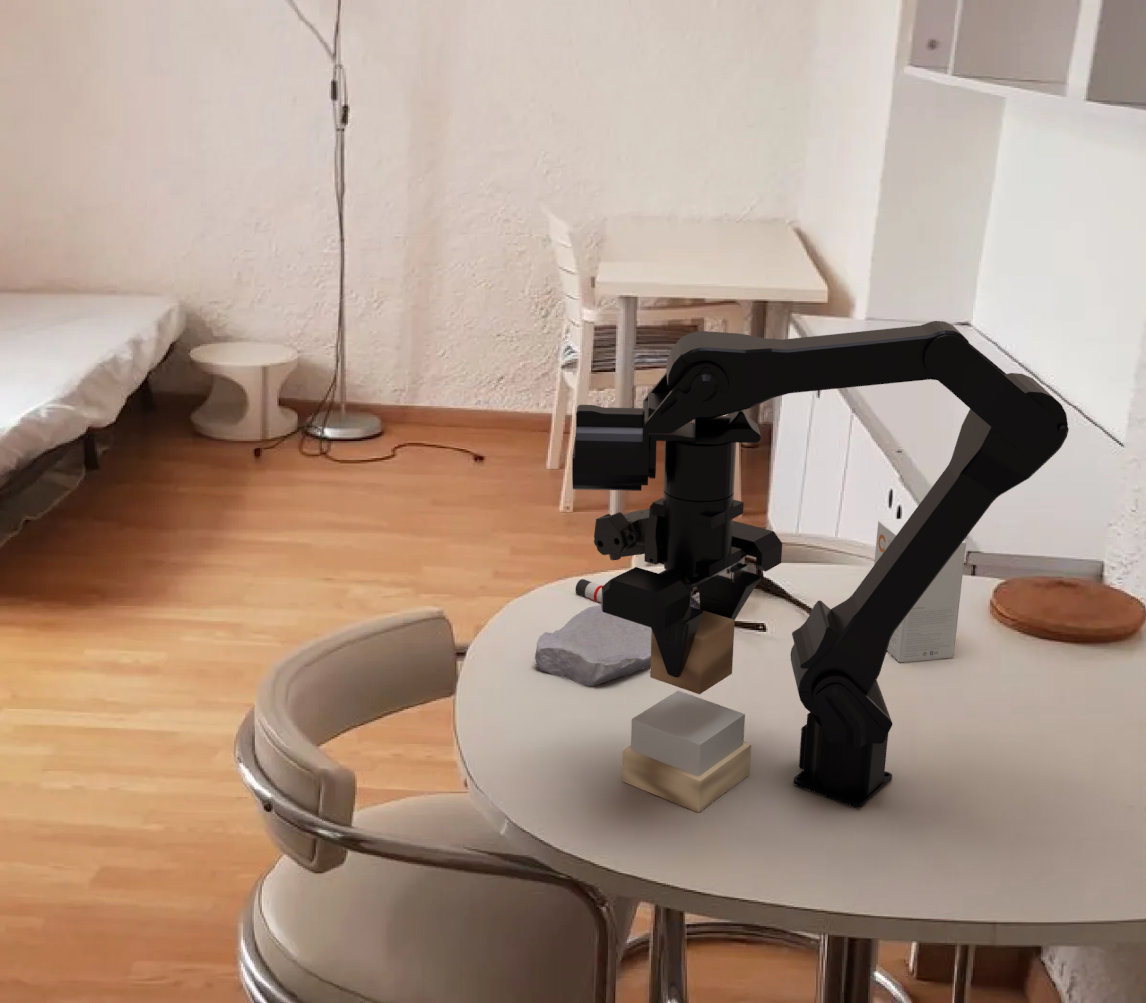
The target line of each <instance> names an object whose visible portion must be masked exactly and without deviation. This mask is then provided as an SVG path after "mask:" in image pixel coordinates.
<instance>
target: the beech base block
mask: <svg viewBox="0 0 1146 1003" xmlns="http://www.w3.org/2000/svg"><path fill="white" fill-rule="evenodd" d="M751 751H752V744H751V743H748V742H745V741H743V745H742V746H741V747H740V748H738V749H737V750H735V751H734V752H733V753H731V754H730V755H728V756H727V757H726V758H724V759H723V760H721V761H720V762H719V763H717V764H716V765H715V766H713V767H712V768H710V769H709V770H708V771H706V772H705V773H703V774H702V775H701V776H699V777H698V776H695V775H693V774H690V773H688V772H685V771H683V770H680V769H677V768H675V767H672V766H670V765H667V764H665V763H662V762H660V761H657V760H655V759H652V758H649V757H647V756H644V755H642V754H639V753H637V752H634V751H632V750H631V745H629V746H628V747H625V748H624V749H622V759H621V760H622V766H621V769H622V770H621V781H622V782H623V783H625V784H627V785H630V786H633V787H635V788H638V789H641V790H642V791H644V792H647V793H650V794H651V795H652V794H653V795H655V796H657V797H660V798H662V799H665V800H666V801H670V802H672V803H675V804H676V805H679V806H681V807H683V808H686V809H689V810H692V811H693V812H697V813H700V811H701V812H703V810H705V809H706V808H707V807H708V806H710V805H711V804H712V802H713V803H714V802H715V801H716V800H718V799H719V798H721V797H720V796H723V795H725V794H726V793H727V792H729V791H730V790H731V789H732V788H734V787H735V786H737V785H738V784H739V783H741V782H742V781H744V780H745V779H747V777H749V776H750V772H751V771H750V770H751V757H752V756H751V754H752V752H751ZM725 792H726V793H725ZM704 808H705V809H704Z"/></svg>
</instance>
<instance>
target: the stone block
mask: <svg viewBox="0 0 1146 1003" xmlns="http://www.w3.org/2000/svg"><path fill="white" fill-rule="evenodd" d="M651 631H652V629H651V627H648V626H645V625H641V624H638V623H635V622H632V621H629V620H626V619H623V618H620V617H617V616H613V615H610V614H607V613H604V612H603V611H602V608H601V604H599V605H592V606H589V607H586V608H585V609H583V610H581V611H580V612H579V613H577V614H575V615H574V616H572V618H570V620H568V621H567V622H566V624H565V625H564V626H562V627H561V628H560V629H556V630H554V631H553V632H546V631H545V632H543V633H542V634H541V635H540V636H539V638H538V640H537V642H536V649H535V654H534V659H535V663H536V666H537V667H538V668H539V670H540V672H545V673H548V674H550V675H552V676H557V677H561V678H567V679H570V680H572V681H574V682H575V683H578V684H580V685H584V686H585V687H594V686H598V685H600V684H603V683H606V682H610V681H611V680H613V681H614V680H616V678H619V677H623V676H629V675H631V674H633V673H636V672H638V671H642V670H643V669H645V668H650V667H651Z"/></svg>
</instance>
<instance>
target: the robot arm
mask: <svg viewBox="0 0 1146 1003" xmlns="http://www.w3.org/2000/svg"><path fill="white" fill-rule="evenodd" d="M665 370H666V371H665V373H664V374H663V376H662V377H661V378H660V379H659V381H657V383H656V384H655V385H654V387H653V388H652V389H651V390H650V392H648V393H647V396H645V398H644V399H643V401H642V407H606V406H605V407H604V406H603V407H602V406H598V405H597V404H596V405H595V404H578V405H577V407H576V412H575V416H576V417H575V436H574V442H573V443H574V444H573V449H572V450H573V451H572V456H571V457H572V458H571V459H572V462H571V463H572V465H571V466H572V468H571V475H572V478H571V480H572V490H575V491H576V490H578V491H579V490H580V491H581V490H582V491H583V490H584V491H585V490H586V491H587V490H588V491H593V490H594V491H625V492H626V491H627V492H628V491H633V492H640V491H641V492H642V486H649V479H653V480H655V479H656V476H657V475H656V474H657V473H656V471H657V442H664V456H663V459H664V461H663V462H664V464H663V486H662V487H663V489H662V490H663V492H662V493H663V494H662V495H663V496H662V498H660V499H657V500H655V501H652V504H651V505H650V506H649V508H645V509H639V510H635V511H634V510H633V511H631V512H630V511H629V512H627V513H624V514H623V512H621V511H619V512H615V513H613V514H610V513H607V514H604V515H602V516H600V517H598V518H595V523H594V524H595V526H594V534H593V543H594V546H596V550H597V552H599V554H601V555H603V556H607V555H608V556H609V559H610V560H611V561H619V560H620V559H621V558H624V557H633V556H639V555H644V562H645V563H648V564H652V565H656V566H657V565H658V564H661V565H663V569H664V570H663V571H660V572H654V571H652V570H648V569H644V568H642V567H638V566H635V567H633V568H631V569H629V570H626V571H625V572H622V573H621V574H619V575H617V576H614V577H612V578H611V579H609V580H608V581H607V582H605V584H603V585H602V603H600V605H601V608H602V611H603V612H604V613H607V614H610V615H613V616H617V617H620V618H623V619H626V620H629V621H632V622H635V623H638V624H641V625H645V626H648V627H651V629H652V631H653V634H654V636H655V639H656V642H657V645H658V648H659V650H660V653H661V656H662V659H663V662H664V665H665V668H666V671H667V673H668V675H670V676H673V677H676V678H678V677H679V676H681V673H682V671H683V669H684V666H685V664H686V661H687V658H688V655H689V652H690V649H691V646H692V644H693V641H694V638H695V635H696V632H697V629H698V626H699V623H700V620H701V617H702V615H703V610H704V611H707V612H710V613H714V614H717V615H720V616H723V617H727V618H730V619H733V620H735V621H736V619H737V617H738V615H739V614H740V613H741V610H742V609H743V607H744V605H745V604H746V602H747V600H748V599H749V597H750V596H751V594H752V592H753V591H754V589H755V588H756V586H757V585H758V584H760V583H761V581H762V580H761V579H762V576H761V575H760V574H757V573H754V572H750V571H748V566H749V565H748V564H747V563H745V560H746V557H747V556H749V557H752V558H755V565H756V567H757V568H758V570H760V571H763V572H765V573H766V572H768V571H770V570H771V569H774V568H775V567H777V566H778V565H781V564H782V558H783V556H782V554H783V542H782V540H781V539H780V538H779V537H778V535H777V533H776V532H775V531H774V530H772V529H767V528H763V527H759V526H755V525H752V524H747V523H744V522H739V521H736V520H733V519H735V518H737V517H740V516H741V515H743V514H744V506H745V505H744V504H745V503H744V501H740V500H737V499H735V498H734V496H735V495H734V494H735V479H736V478H735V474H736V455H737V454H736V451H737V443H738V444H739V443H743V444H746V443H747V444H751V443H752V444H757V443H760V442H761V441H762V436H761V432H760V429H759V426H758V423H756V422H755V421H754V420H752V418H751V417H749V416H748V415H747V413H746V412H745V410H748V409H749V410H750V409H752V408H754V407H756V406H759V405H760V404H763V403H765V402H767V401H769V400H772V399H773V398H778V397H782V396H785V395H789V394H795V393H796V394H797V393H804V392H805V393H806V392H807V393H808V392H816V391H826V390H837V389H839V390H840V389H846V388H848V389H849V388H856V387H859V388H860V387H867V386H868V387H869V386H876V385H879V386H880V385H888V384H889V385H890V384H897V383H907V382H919V381H928V380H930V381H932V380H933V381H938V382H939V383H940V384H941V385H943V387H945V388H946V389H947V390H949V392H951V393H952V394H953V395H954V396H955V397H956V398H958V399H959V400H960V401H961V402H962V403H964V405H965V406H966V407H968V408H969V410H968V413H967V414H966V416H965V418H964V420H963V422H962V423H961V427H960V430H959V433H958V437H957V440H956V443H955V446H954V450H953V452H952V454H951V455H952V456H951V458H950V462H949V463H948V464H947V466H946V468H945V469H944V470H943V472H942V473H941V474H940V476H939V477H938V478H937V479H936V482H935V483H934V484H933V485H932V486H931V488H930V489H929V490H928V492H927V493H926V494H925V496H924V497H923V498H922V500H921V502H920V503H919V504H918V505H917V507H916V508H915V509H914V511H913V512H912V514H911V515H910V516H909V519H908V520H907V522H906V523H905V524H904V526H903V527H902V528H901V530H900V531H899V533H898V534H897V535H896V537H895V538H894V539H893V541H892V542H891V543H890V545H889V546H888V547H887V549H886V550H885V551H884V553H883V554H882V555H881V557H880V558H879V560H878V561H877V562H876V564H875V565H874V564H873V566H872V567H871V569H870V570H869V571H868V573H867V574H866V576H865V577H864V578H863V580H862V581H861V582H860V584H859V585H858V587H857V588H856V589H855V590H854V592H853V593H852V594H851V595H850V596H849V597H848V598H847V599H846V600H844V601H842V602H840V603H839V604H837V605H835V606H834V607H832V608H830V607H828V606H827V604H825V603H824V602H823V601H822V600H817V601H816V603H815V604H814V605H813V606H812V610H811V611H810V614H809V615H808V617H807V619H806V621H805V622H803V624H802V625H801V626H800V627H798V628H796V629H795V630H793V631H792V632H791V636H792V639H793V645H792V646H791V650H790V662H791V667H792V671H793V676H794V680H795V683H796V688H797V692H798V697H799V700H800V702H801V703H802V705H803V707H804V708H805V709H806V710H807V711H808V713H807V716H806V724H804V726H802V727H801V729H800V732H801V733H800V744H799V756H798V757H799V758H798V768H799V769H800V770H802V771H800V772H799V773H798V774H797V775H795V776H794V777H793V785H795V786H797V787H799V788H803V789H805V790H807V791H810V792H813V793H815V794H817V795H820V796H823V797H826V798H829V799H831V800H833V801H836V802H839V803H842V804H844V805H846V806H850V807H852V808H856V809H858V808H859V809H860V808H862V807H864V806H865V804H867V803H868V802H869V801H870V800H872V798H874V797H875V796H876V795H877V794H878V793H880V791H881V790H882V789H884V787H886V786H888V784H889V783H890V782H891V781H892V780H893V774H892V773H891V772H889V771H886V761H887V750H888V740H889V733H890V731H891V729H892V727H893V722H892V718H891V716H890V712H889V710H888V707H887V704H886V702H885V699H884V696H883V693H882V690H881V688H880V686H879V682H878V681H877V680H878V677H879V676H880V673H881V671H882V668H883V664H884V661H885V658H886V655H887V652H888V651H887V649H888V645H889V642H890V639H891V637H892V635H893V633H894V631H895V630H896V629H897V627H898V626H899V625H900V623H901V622H902V621H903V620H904V618H905V617H906V616H907V614H908V613H909V612H910V610H911V609H912V608H913V606H914V605H915V604H916V602H917V601H918V600H919V598H920V597H921V596H922V595H923V593H924V592H925V591H926V589H927V588H928V587H929V585H930V584H931V583H932V581H933V580H934V579H935V577H936V576H937V575H938V573H939V572H940V571H941V570H942V568H943V567H944V566H945V564H946V563H947V562H948V560H949V559H950V558H951V556H952V555H953V554H954V552H955V551H956V550H957V549H958V547H959V546H960V545H961V543H962V542H963V541H965V539H966V538H967V537H968V535H969V534H970V533H971V531H973V529H974V527H975V526H976V525H977V524H978V522H979V521H980V520H981V518H982V517H983V516H984V514H985V513H986V511H987V510H988V509H989V508H990V507H991V505H992V504H993V503H994V501H996V500H997V499H998V498H999V497H1000V496H1002V495H1003V494H1005V493H1007V492H1008V491H1010V490H1012V489H1014V488H1015V487H1017V486H1018V485H1020V484H1022V483H1024V482H1025V481H1027V480H1028V479H1030V478H1032V476H1033V475H1035V473H1036V472H1038V471H1039V469H1041V468H1042V466H1043V467H1044V465H1045V464H1046V463H1047V462H1048V461H1049V460H1050V459H1051V458H1052V457H1054V456H1055V455H1056V454H1057V453H1058V452H1059V450H1060V449H1061V448H1062V446H1063V445H1064V443H1065V441H1066V439H1067V438H1068V433H1069V427H1068V426H1069V422H1068V417H1067V412H1066V410H1065V409H1064V407H1063V405H1062V403H1060V402H1059V401H1058V400H1057V399H1056V398H1055V397H1054V396H1053V395H1052V394H1051V393H1049V392H1048V390H1046V389H1045V388H1044V387H1043V386H1042V385H1040V384H1039V382H1037V381H1036V380H1035V379H1034V378H1033V377H1030V376H1029V375H1026V374H1025V373H1024V374H1023V373H1017V372H1009V373H1006V372H1005V371H1004V370H1003V369H1001V368H1000V367H999V366H997V365H996V364H995V363H994V362H993V361H991V359H989V358H988V357H987V356H986V355H985V354H983V353H982V352H981V351H979V349H977V348H976V347H975V346H974V345H972V344H971V343H970V342H969V340H968V339H967V338H966V337H965V335H963V334H962V333H961V331H959V330H958V329H957V328H956V327H955V326H954V325H953V324H950V323H949V322H947V321H943V320H933V321H929V322H927V323H924V324H921V325H914V326H913V325H911V326H902V327H892V328H884V329H883V328H882V329H875V330H874V329H871V330H865V331H863V330H862V331H861V330H860V331H854V332H852V331H851V332H845V333H844V332H843V333H833V334H824V335H814V336H813V335H812V336H806V337H805V336H804V337H793V338H784V339H782V338H781V339H780V338H779V339H778V338H765V337H760V336H755V335H750V334H745V333H737V332H722V331H721V332H720V331H707V330H706V331H705V330H699V331H695V332H690V333H688V334H685V335H683V336H682V337H680V338H679V339H678V341H677V342H676V343H675V344H674V345H673V346H672V347H671V349H670V351H669V354H668V356H667V359H666V368H665ZM695 587H696V589H697V591H698V595H699V597H698V598H699V600H698V601H699V608H697V607H695V606H694V607H693V606H692V595H693V594H694V588H695Z"/></svg>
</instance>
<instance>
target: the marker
mask: <svg viewBox="0 0 1146 1003" xmlns="http://www.w3.org/2000/svg"><path fill="white" fill-rule="evenodd" d="M602 586H603V585H602V584H599V583H596V582H593V581H590V580H587V579H584V578H582V579H579V580H578V581H577V583H576V585H575V593H576V595H578V596H582V597H584V598H586V599H589V600H591V601H593V602H596V601H597V603H599V604H601V603H602Z"/></svg>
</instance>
